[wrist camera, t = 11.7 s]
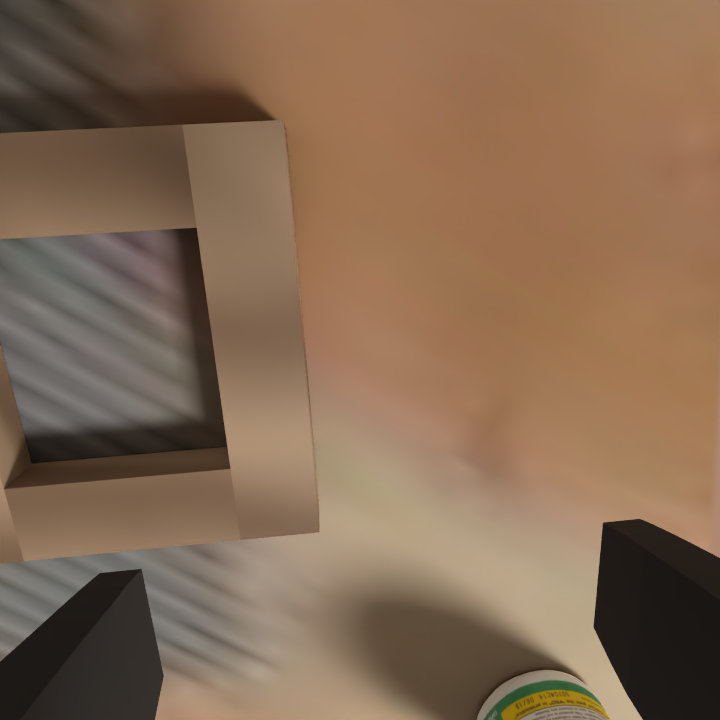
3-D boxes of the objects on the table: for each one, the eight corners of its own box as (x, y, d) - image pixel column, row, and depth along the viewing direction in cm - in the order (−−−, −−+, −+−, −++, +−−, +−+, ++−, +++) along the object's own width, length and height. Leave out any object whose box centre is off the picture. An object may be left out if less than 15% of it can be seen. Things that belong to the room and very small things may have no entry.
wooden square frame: (318, 504, 18) (319, 532, 17) (-29, 537, 18) (-61, 569, 16) (285, 128, 15) (282, 119, 13) (-150, 149, 14) (-206, 142, 12)
